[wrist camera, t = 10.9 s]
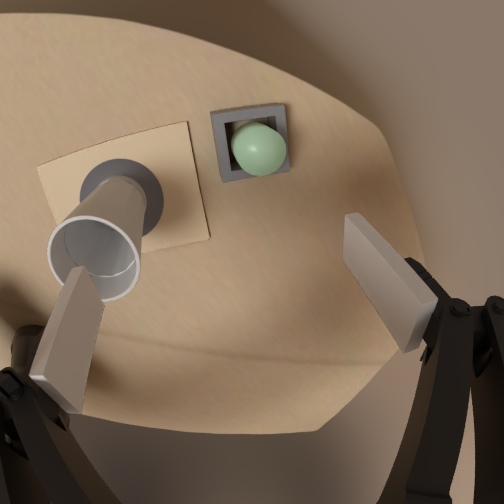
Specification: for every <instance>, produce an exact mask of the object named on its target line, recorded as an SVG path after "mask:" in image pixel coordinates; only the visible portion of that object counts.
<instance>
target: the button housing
mask: <svg viewBox="0 0 504 504" xmlns="http://www.w3.org/2000/svg"><path fill="white" fill-rule="evenodd" d="M210 115H211V122H212V128H213V134H214V141H215V147H216V153H217V159H218V165H219V171H220V176H221V179H222V182H223V183H224V182H229V181H235V180H240V179H246V178H252V177H257V176H255V175H252V174H249V173H247V172H246V171H245V170H243V169H242V168H241V166H240V165H239V163H238V162H234V163H230V160H229V153H228V146H227V139H226V133H225V126H224V123H227V122H233V121H239V120H246V119H254V118H261V117H269V126H270V128H271V129H273V130H275V131H276V132H278V133H279V134H280V135H281V136H282V138H283V139H284V142H285V145H286V156H285V159H284V162H283V164H282V165H281V166H280V167H279V168H278V169H277V170H276V171H275V172H273V173H271V174H276V173H282V172H289V171H290V162H289V149H288V137H287V126H286V115H285V105H283V104H279V103H269V104H260V105H252V106H244V107H237V108H231V109H224V110H218V111H212V112H210Z"/></svg>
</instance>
